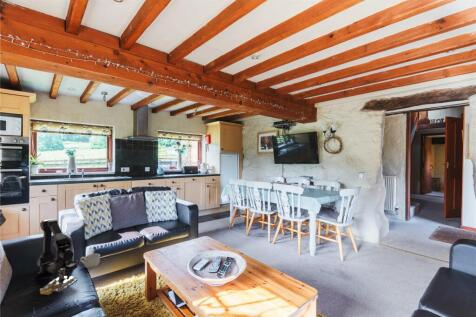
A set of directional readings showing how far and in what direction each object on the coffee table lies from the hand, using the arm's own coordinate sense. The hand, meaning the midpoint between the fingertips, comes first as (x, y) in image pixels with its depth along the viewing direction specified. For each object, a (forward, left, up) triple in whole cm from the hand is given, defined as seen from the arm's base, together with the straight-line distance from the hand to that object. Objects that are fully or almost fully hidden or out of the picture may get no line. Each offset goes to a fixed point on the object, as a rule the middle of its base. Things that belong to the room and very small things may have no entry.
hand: (61, 279), depth 157 cm
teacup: (+1, +25, -3) cm, 25 cm away
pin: (0, 0, -2) cm, 2 cm away
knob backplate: (0, -4, -3) cm, 5 cm away
